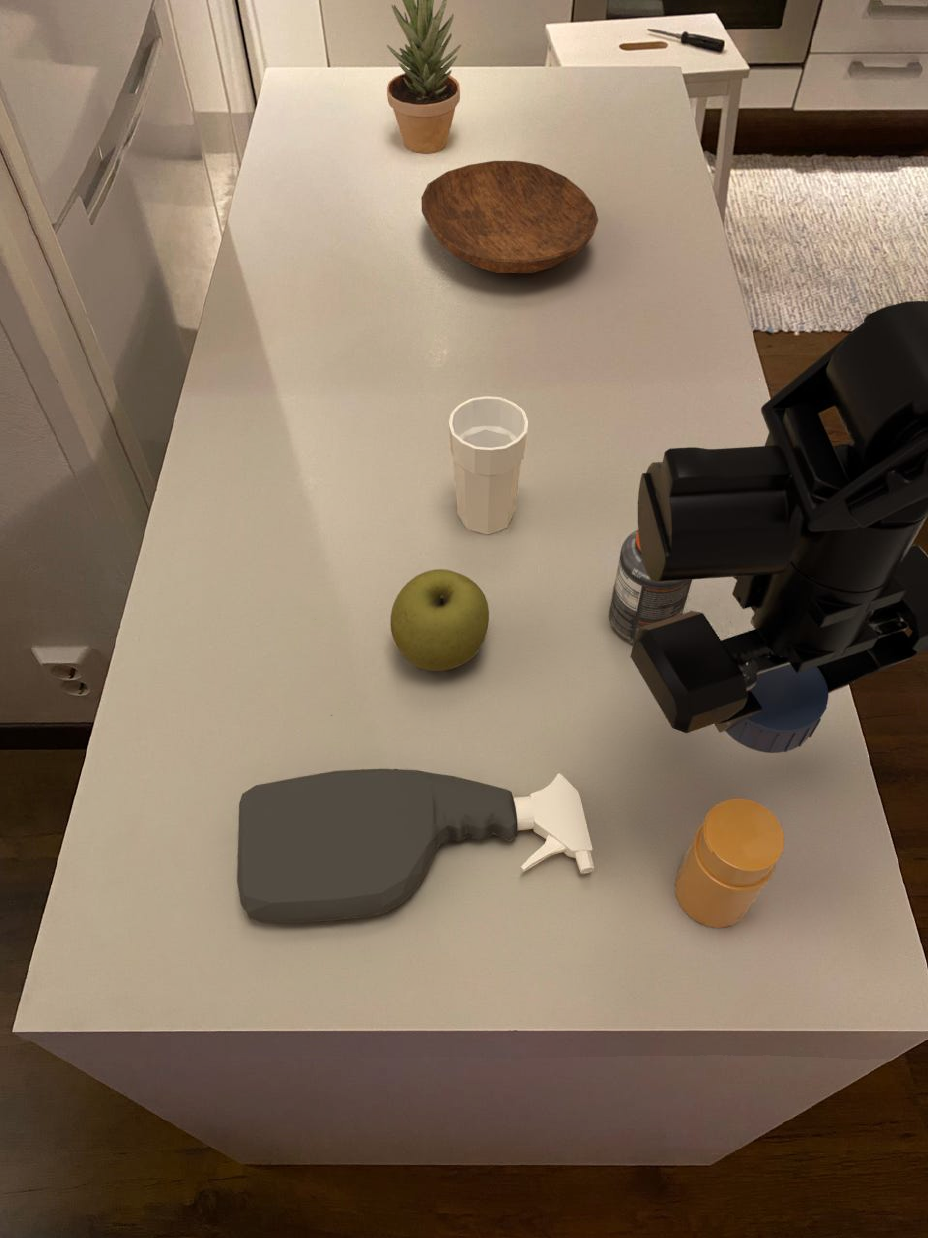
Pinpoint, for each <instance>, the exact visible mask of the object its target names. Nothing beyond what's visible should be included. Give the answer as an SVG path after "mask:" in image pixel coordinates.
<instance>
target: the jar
mask: <svg viewBox="0 0 928 1238" xmlns="http://www.w3.org/2000/svg"><path fill="white" fill-rule="evenodd" d="M784 848H785V834H784V830H783V828H782V825H781V824H780V822H779V820H778V818H777V817H776V816H775V814H773V812H772V811H771V810H770V809H768V808H767V807H765V806H764V805H762V804H760V803H759V802H756V801H754V800H751V799H748V798H729V799H726V800H723V801H721V802H718V803H716V804H715V805H714V806H713V807H711V808H710V810H708V813H706V815H705V817H704V820H703V822H702V824H701V825H700V826H699V828H698V830H696V833H695V835H694V837H693V839H692V841H691V844H690V846H689V848H688V850H687V852H686V855H685V857H684V859H683V861H682V863H681V865H680V867H679V869H678V871H677V874H676V876H675V881H674V890H675V891H674V893H675V896H676V899H677V901H678V903H679V905H680V907H681V908H682V910H683V911H684V913H685V914H686V915H687V916H688V917H689V918H691V919H692V920H694V921H695V922H697V923H699V924H701V925H703V926H705V927H709V928H713V929H715V928H716V929H721V928H727V927H731V926H733V925H736V924H737V923H739V922H740V921H741V920H742V919H743V918H744V917H745V915H746V914H747V913H748V911H749V910H750V908H751V907H752V905H753V904H754V902H755V901H756V899H757V898H758V896H759V895H760V894H761V892H762V890H763V889H764V888H765V886H766V885H767V884H768V882H769V880H770V879H771V878H772V876H773V874H774V872H775V870H776V867H777V862H778V861H779V859H780V858H781V856H782V854H783V852H784V850H785V849H784Z"/></svg>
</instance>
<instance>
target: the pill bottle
mask: <svg viewBox="0 0 928 1238" xmlns="http://www.w3.org/2000/svg"><path fill="white" fill-rule="evenodd" d="M619 552H620V553H619V557H618V564H617V569H616V574H615V579H614V585H613V589H612V590H613V591H612V595H611V599H610V605H609V611H608V619H609V622H610V625H611V628H612V629H613V631H614V632H615V634H616V635H617V636H619V637H620V638H621V639H623V641H625V642H628V643H630V644H632V645H633V644H634V640H635V637H636V635H637V632H638V630H639V627H643V626H646V625H649V624H652V623H655V622H658V621H662V620H665V619H668V618H671V617H674V616H677V615H680V614H684V610H685V608H686V607H685V606H686V603H687V601H688V600H687V599H688V597H689V593H690V589H691V587H692V583H693V580H677V581H662V582H653V581H652V580H651V579H650V578H649V576H648V574H647V572H646V569H645V567H644V563H643V560H642V555H641V549H640V543H639V534H638V529H636V530H634V531H633V532H632V533H630V534H629V535H628V536H627V537H626V538H625V539H624V540H623V543H622V545H621V549H620V551H619Z"/></svg>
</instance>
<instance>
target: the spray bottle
mask: <svg viewBox="0 0 928 1238" xmlns="http://www.w3.org/2000/svg"><path fill="white" fill-rule="evenodd" d="M582 804H583V803H582V800H581V795H580V792H579V791H578V790H577V789H576V788H575V787H574V786H573V785H572V784H571V783H570V782H569V781H568V779H566V777H565V776H563V774H561V773H560V772H559V773H557V774H556V775H555V777H554V779H553V780H552V781H551V783H549V784H548V785H547V786H546V787H544V788H543V789H540V790H538V791H534V792H532V793H529V795H527V796H517V797H515V796H514V794H513V792H512V791H511V790H509V789H506V788H502V787H498V786H495V785H491V784H487V783H483V782H479V781H475V780H470V779H467V778H462V777H458V776H454V775H447V774H441V773H433V772H429V771H423V770H418V769H401V768H400V769H399V768H368V769H367V768H365V769H345V770H333V771H332V770H331V771H326V772H322V773H321V772H320V773H313V774H310V775H309V774H308V775H304V776H299V777H293V778H292V777H291V778H288V779H282V780H276V781H272V782H267V783H260V784H256V785H254V786H253V787H251V788H249V789H248V790H246V791H244V792H242V794H241V796H240V800H239V803H238V830H237V831H238V833H237V866H236V868H237V869H236V870H237V871H236V885H237V888H238V894H239V900H240V905H241V907H242V909H243V911H244V912H245V913H246V916H247V917H248V919H250V920H254V921H258V922H261V923H307V922H320V921H321V922H322V921H334V920H348V919H349V920H350V919H360V918H361V919H362V918H367V917H372V916H376V915H383V914H385V913H387V912H389V911H391V910H392V909H394V908H396V907H399V906H400V905H401V904H403V903H404V902H405V901H406V900H407V899H408V898H409V897H410V896H412V894H413V893H414V892H415V891H416V889H417V887H419V885H420V883H421V882H422V880H423V879H424V877H425V876H426V874H427V872H428V870H429V868H430V865H431V863H432V861H433V859H434V857H435V854H436V852H437V850H438V848H439V847H440V846H442V845H444V843H446V842H448V841H449V840H452V841H456V842H457V841H458V842H460V841H462V840H463V839H465V838H472V839H476V840H483V839H486V838H488V837H490V836H492V835H495V836H497V837H500V838H502V839H504V840H506V841H509V842H511V841H513V840H514V839H515V838H516V837H517V836H518V831H524V830H531V829H532V830H533V832H534V833H535V834H537V835H538V836H540V837H542V838H543V839H545V842H544V843H543V844H542V846H540V847H539V848H538V849H537V850H536V851H534V853H533V854H532V855H530V856H529V857H528V858H527V859H526V860H525V861H524V863H523V864H522V865H521V866H520V870H521V871H522V872H523V873H524V872H526V871H528V870H529V869H531V868H532V867H534V866H536V865H537V864H539V863H540V862H543V860H545V859H547V858H548V857H550V856H554V855H557V854H561V853H563V854H565V856H567V857H569V858H573V859H575V861H576V863H577V867H578V870H579V873H580V874H583V875H584V874H589V873H591V872H594V870H595V866H594V862H593V857H592V854H593V845H592V842H591V837H590V834H589V829H588V825H587V821H586V816H585V812H584V808H583V805H582Z"/></svg>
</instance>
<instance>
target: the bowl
mask: <svg viewBox="0 0 928 1238" xmlns="http://www.w3.org/2000/svg"><path fill="white" fill-rule="evenodd" d="M420 199H421V214H422V215H423V218H424V219H425V222H426V223H427V225H428V227H429V228H430V230H431V231H432V233H433V235H434V237H435V238H436V240H437V242H438V243H440V245H442V246H443V247H444V248H445V249H447V250H448V251H449V252H450V253H451V254H452V255H453V256H454V257H456V258H459V259H461V260H462V261H464V262H466V263H469V264H470V265H472V266H474V267H476V268H479V269H482V270H486V271H489V272H492V273H496V274H533V273H537V272H541V271H545V270H547V269H548V270H549V269H552V268H553V267H555V266H557V265H559V264H561V263H562V262H564V261H565V260H567V259H569V258H571V257H573V256H574V255H576V254H577V253H578V252H579V251H580V250H581V249H582V248H583V247H585V246H586V245H587V243H589V241H590V240H591V239H592V237H593V236H594V235H595V233H596V232H595V231H596V230H597V226H598V223H599V217H598V213H597V209H596V206H595V204H593V202H592V201H591V199H590V198H589V197H588V195H587V194H586V193H585V191H584V190H583V189H581V188H580V187H579V186H578V185H577V184H575V182H573V181H572V180H571V179H569V178H568V177H567V176H565V175H563V174H560V173H559V172H557V171H554V170H552V169H550V168H548V167H546V166H544V165H542V164H537V163H532V162H526V161H521V160H491V161H490V160H489V161H484V162H479V163H478V162H477V163H471V164H467V165H464V166H461V167H458V168H455V169H452V170H448V171H446V172H444V173H443V174H441V175H440V176H437V178H435V179H433V180H432V181H430V182H429V183H427V185H426V187H425V189H424V191H423V194H421V198H420Z"/></svg>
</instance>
